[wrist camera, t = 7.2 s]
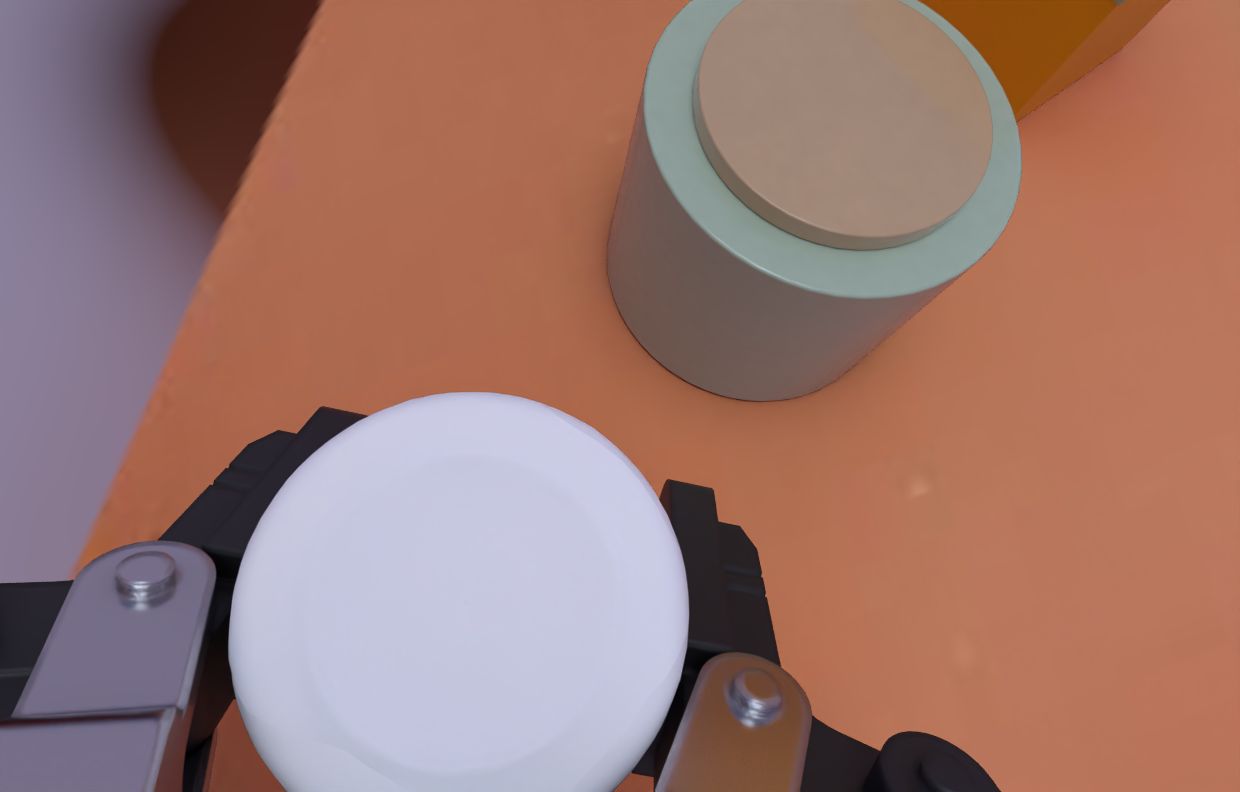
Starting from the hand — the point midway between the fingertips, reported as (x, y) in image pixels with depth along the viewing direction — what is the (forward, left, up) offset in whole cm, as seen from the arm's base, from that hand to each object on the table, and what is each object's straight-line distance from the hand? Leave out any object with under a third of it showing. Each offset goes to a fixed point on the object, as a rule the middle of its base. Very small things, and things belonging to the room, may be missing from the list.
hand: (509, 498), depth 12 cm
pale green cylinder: (+3, +11, -9) cm, 15 cm away
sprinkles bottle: (0, -2, -9) cm, 9 cm away
